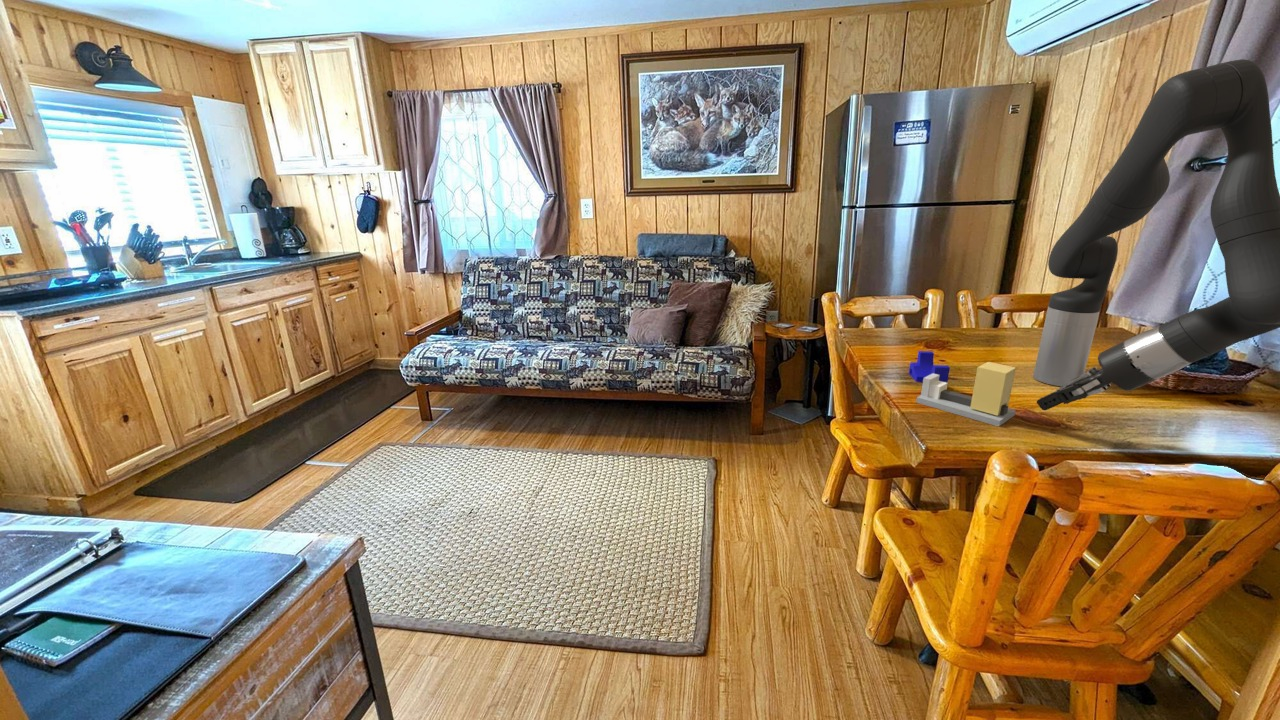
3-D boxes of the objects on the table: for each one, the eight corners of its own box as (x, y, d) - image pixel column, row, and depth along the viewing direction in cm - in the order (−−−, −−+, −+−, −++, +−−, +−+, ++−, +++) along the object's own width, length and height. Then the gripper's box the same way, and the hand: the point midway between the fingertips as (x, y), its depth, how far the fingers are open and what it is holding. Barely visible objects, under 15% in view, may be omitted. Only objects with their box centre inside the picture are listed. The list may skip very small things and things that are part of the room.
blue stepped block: (908, 374, 134) (912, 350, 133) (928, 374, 134) (931, 351, 132) (924, 391, 123) (928, 366, 121) (945, 392, 123) (949, 367, 121)
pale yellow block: (980, 401, 113) (988, 361, 110) (1007, 409, 109) (1016, 367, 106) (970, 408, 110) (977, 367, 107) (997, 415, 106) (1006, 373, 104)
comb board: (933, 393, 122) (936, 371, 120) (1014, 415, 110) (1019, 391, 108) (916, 402, 117) (919, 379, 115) (998, 426, 105) (1003, 401, 103)
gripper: (1136, 332, 94) (1039, 380, 107) (1116, 347, 87) (1014, 397, 100) (1169, 368, 92) (1065, 413, 105) (1151, 387, 84) (1042, 433, 97)
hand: (1040, 405), depth 102 cm, fingers closed
